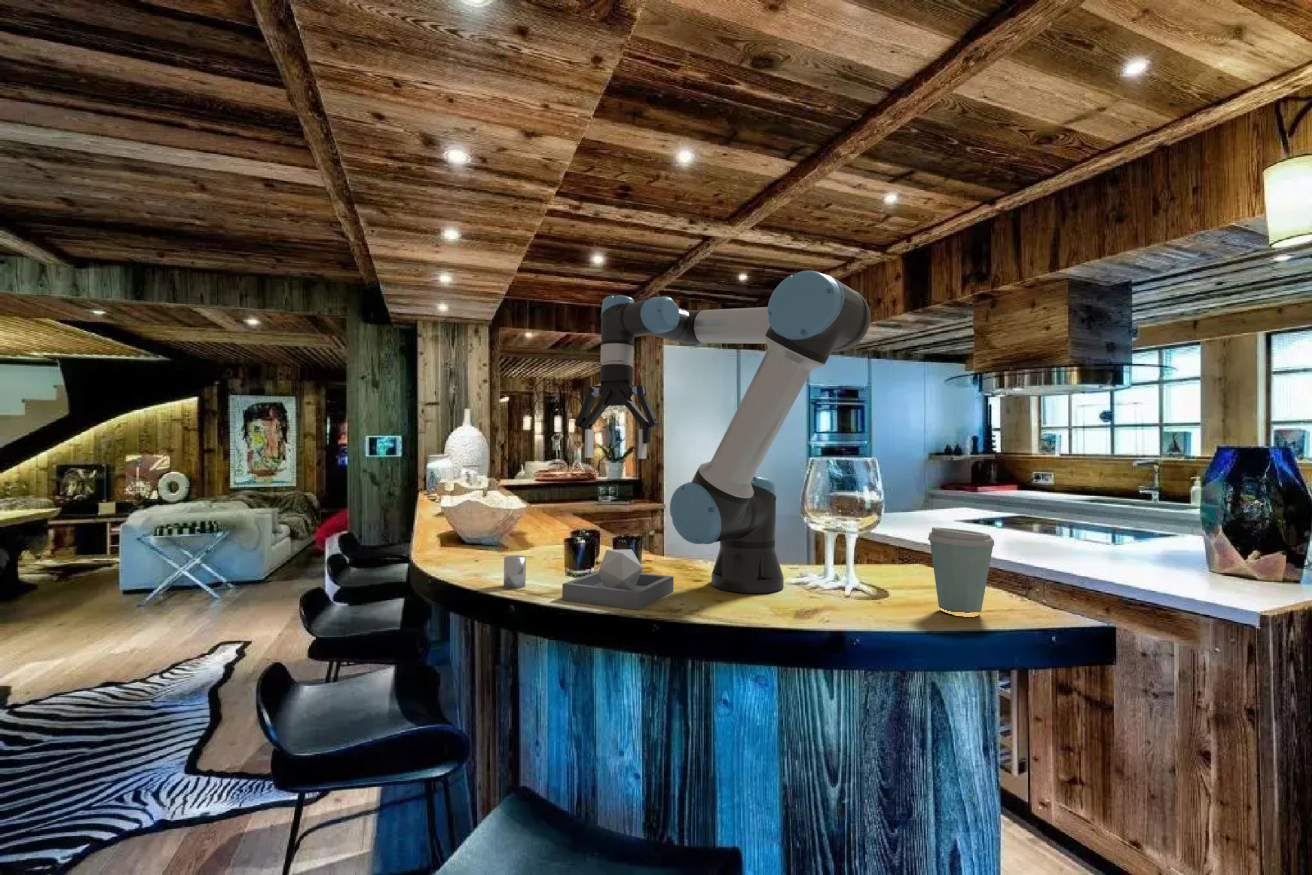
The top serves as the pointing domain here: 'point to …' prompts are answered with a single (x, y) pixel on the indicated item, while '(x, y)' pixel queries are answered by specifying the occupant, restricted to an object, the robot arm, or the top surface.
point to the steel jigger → (514, 572)
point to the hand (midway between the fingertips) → (615, 458)
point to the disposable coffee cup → (960, 567)
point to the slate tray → (618, 591)
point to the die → (620, 569)
